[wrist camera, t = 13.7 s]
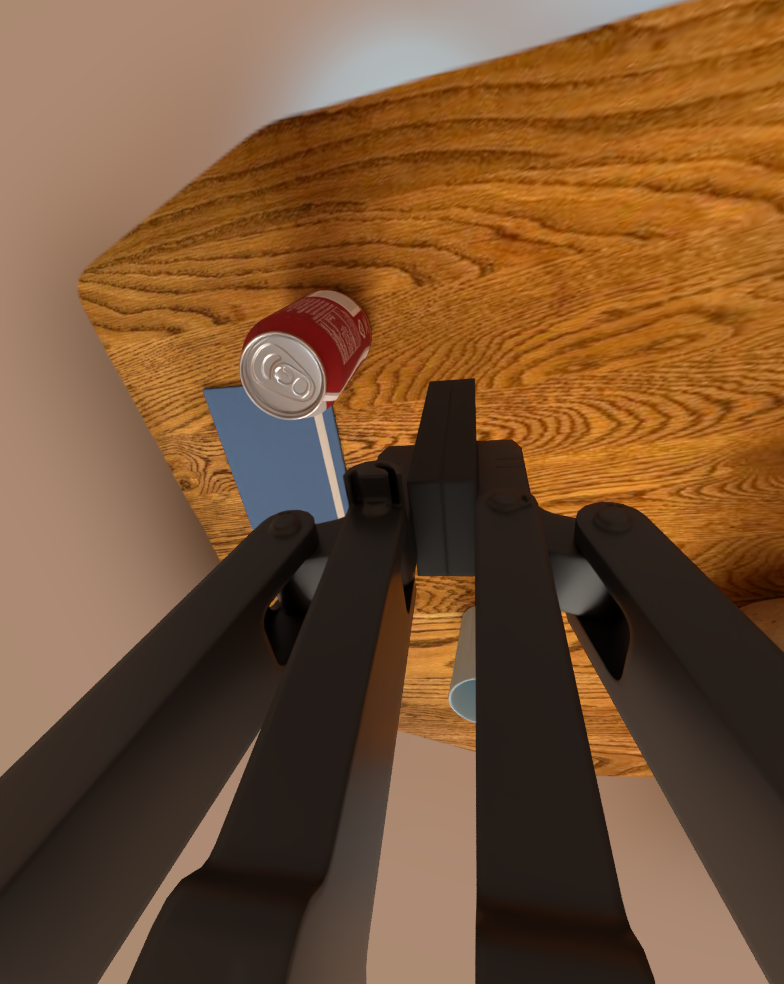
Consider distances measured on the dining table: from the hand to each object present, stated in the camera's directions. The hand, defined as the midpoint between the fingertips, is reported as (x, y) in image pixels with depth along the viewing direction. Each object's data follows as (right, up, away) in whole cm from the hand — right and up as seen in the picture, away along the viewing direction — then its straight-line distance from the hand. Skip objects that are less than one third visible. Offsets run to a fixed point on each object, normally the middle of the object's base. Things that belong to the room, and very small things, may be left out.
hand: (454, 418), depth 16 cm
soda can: (-7, +11, +22) cm, 26 cm away
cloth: (-13, +1, +30) cm, 32 cm away
